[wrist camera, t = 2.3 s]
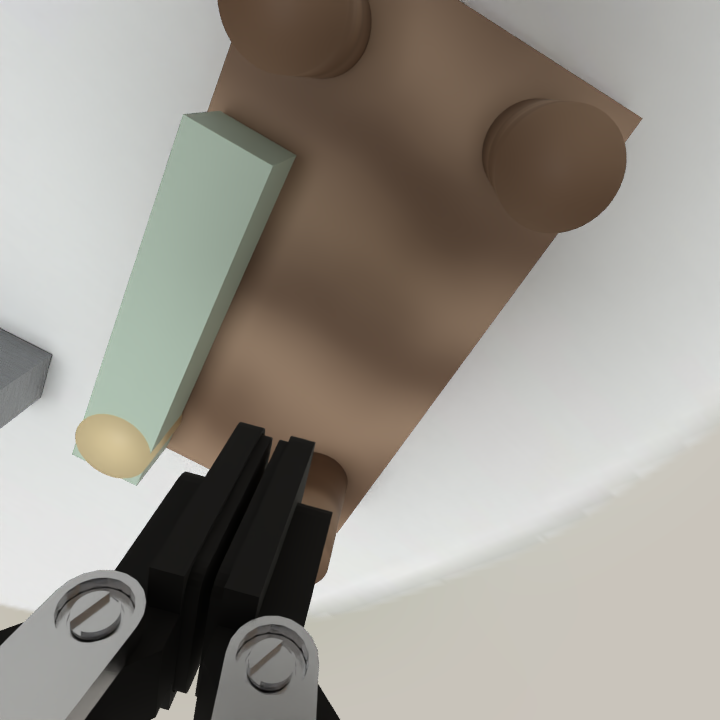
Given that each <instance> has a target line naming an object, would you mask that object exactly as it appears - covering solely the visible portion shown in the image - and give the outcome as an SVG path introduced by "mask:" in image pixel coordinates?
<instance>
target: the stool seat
mask: <svg viewBox="0 0 720 720" xmlns="http://www.w3.org/2000/svg"><path fill="white" fill-rule="evenodd" d="M218 7H219V12H220V16H221V20H222V23H223V26H224V28H225V31H226V33H227V35H228V37H229V38H230V40H231V45H230V48H229V51H228V53H227V56H226V59H225V62H224V65H223V68H222V71H221V74H220V77H219V79H218V82H217V85H216V88H215V91H214V94H213V97H212V100H211V102H210V105H209V108H208V111H207V112H213V111H221V112H223V113H225V114H226V115H228V116H230V117H232V118H233V119H235V120H237V121H238V122H240V123H242V124H244V125H245V126H247V127H249V128H250V129H252V130H254V131H256V132H257V133H259V134H261V135H262V136H264V137H266V138H268V139H269V140H271V141H273V142H274V143H276V144H278V145H280V146H281V147H283V148H285V149H286V150H288V151H290V152H292V153H293V154H295V155H296V157H295V160H294V162H293V164H292V166H291V169H290V171H289V173H288V175H287V178H286V180H285V182H284V184H283V187H282V189H281V191H280V193H279V196H278V198H277V200H276V202H275V205H274V207H273V209H272V211H271V214H270V216H269V218H268V221H267V223H266V225H265V227H264V230H263V232H262V234H261V236H260V239H259V241H258V243H257V245H256V248H255V250H254V252H253V254H252V257H251V259H250V261H249V263H248V266H247V268H246V270H245V272H244V275H243V277H242V279H241V281H240V284H239V286H238V288H237V290H236V293H235V295H234V297H233V299H232V302H231V304H230V306H229V308H228V311H227V313H226V315H225V317H224V320H223V322H222V324H221V327H220V329H219V331H218V333H217V336H216V338H215V340H214V342H213V345H212V347H211V349H210V351H209V354H208V356H207V358H206V360H205V363H204V365H203V367H202V369H201V372H200V374H199V376H198V378H197V381H196V383H195V385H194V387H193V390H192V392H191V394H190V396H189V399H188V401H187V403H186V405H185V408H184V410H183V412H182V420H181V423H180V425H179V426H178V428H177V429H176V430H175V431H174V433H173V435H172V437H171V439H170V442H169V444H168V446H167V447H166V448H168V449H170V450H172V451H174V452H176V453H178V454H180V455H182V456H184V457H186V458H188V459H190V460H192V461H194V462H196V463H198V464H200V465H202V466H204V467H206V468H208V469H210V468H211V467H212V465H213V463H214V462H215V460H216V459H217V457H218V455H219V454H220V452H221V450H222V449H223V447H224V446H225V444H226V442H227V441H228V439H229V438H230V436H231V434H232V433H233V431H234V430H235V428H236V426H237V425H238V423H239V422H244V423H247V424H251V425H255V426H258V427H262V428H265V436H269V437H272V438H273V441H272V446H271V451H270V456H269V461H270V459H271V457H272V454H273V452H274V450H275V448H276V446H277V444H278V442H279V440H284V441H287V442H288V441H289V439H290V437H291V436H295V437H298V438H302V439H306V440H309V441H313V442H316V443H315V448H314V453H313V457H312V461H311V465H310V469H309V473H308V477H307V482H306V486H305V490H304V494H303V498H302V502H301V503H302V504H305V505H309V506H313V507H316V508H320V509H324V510H327V511H331V512H333V514H332V518H331V522H330V526H329V530H328V534H327V538H326V542H325V546H324V550H323V553H322V557H321V561H320V565H319V569H318V573H317V577H316V581H315V583H317V582H319V581H320V580H321V579H322V578H323V577H324V576H325V574H326V573H327V570H328V566H329V562H330V557H331V553H332V549H333V545H334V540H335V536H336V532H338V531H339V530H340V528H341V527H342V526H343V524H344V523H345V522H346V520H347V519H348V517H349V516H350V515H351V513H352V512H353V511H354V509H355V508H356V507H357V505H358V504H359V503H360V501H361V500H362V498H363V497H364V496H365V494H366V493H367V492H368V490H369V489H370V488H371V486H372V485H373V484H374V482H375V481H376V479H377V478H378V477H379V475H380V474H381V473H382V471H383V470H384V469H385V467H386V466H387V465H388V463H389V462H390V460H391V459H392V458H393V456H394V455H395V454H396V452H397V451H398V450H399V448H400V447H401V446H402V444H403V443H404V441H405V440H406V439H407V437H408V436H409V435H410V433H411V432H412V431H413V429H414V428H415V427H416V425H417V424H418V422H419V421H420V420H421V418H422V417H423V416H424V414H425V413H426V412H427V410H428V409H429V408H430V406H431V405H432V403H433V402H434V401H435V399H436V398H437V397H438V395H439V394H440V393H441V391H442V390H443V389H444V387H445V386H446V384H447V383H448V382H449V380H450V379H451V378H452V376H453V375H454V374H455V372H456V371H457V370H458V368H459V367H460V365H461V364H462V363H463V361H464V360H465V359H466V357H467V356H468V355H469V353H470V352H471V351H472V349H473V348H474V346H475V345H476V344H477V342H478V341H479V340H480V338H481V337H482V336H483V334H484V333H485V332H486V330H487V329H488V327H489V326H490V325H491V323H492V322H493V321H494V319H495V318H496V317H497V315H498V314H499V313H500V311H501V310H502V308H503V307H504V306H505V304H506V303H507V302H508V300H509V299H510V298H511V296H512V295H513V294H514V292H515V291H516V289H517V288H518V287H519V285H520V284H521V283H522V281H523V280H524V279H525V277H526V276H527V275H528V273H529V272H530V271H531V269H532V268H533V266H534V265H535V264H536V262H537V261H538V260H539V258H540V257H541V256H542V254H543V253H544V252H545V250H546V249H547V247H548V246H549V245H550V243H551V242H552V241H553V239H554V238H555V237H556V235H557V234H558V233H561V232H566V231H570V230H573V229H576V228H578V227H581V226H583V225H585V224H586V223H588V222H590V221H592V220H593V219H594V218H596V217H597V216H598V215H599V214H600V213H601V212H602V211H604V210H605V209H606V207H607V206H608V205H609V204H610V203H611V201H612V200H613V198H614V197H615V195H616V194H617V192H618V190H619V188H620V186H621V183H622V180H623V177H624V173H625V169H626V148H625V142H626V140H627V139H628V138H629V136H630V135H631V133H632V132H633V131H634V129H635V128H636V127H637V125H638V124H639V123H640V121H641V120H642V119H643V118H641V117H639V116H638V115H636V114H635V113H633V112H632V111H630V110H629V109H627V108H625V107H624V106H622V105H621V104H619V103H618V102H616V101H615V100H613V99H611V98H610V97H608V96H607V95H605V94H604V93H602V92H601V91H599V90H597V89H596V88H594V87H593V86H591V85H590V84H588V83H587V82H585V81H583V80H582V79H580V78H579V77H577V76H576V75H574V74H573V73H571V72H569V71H568V70H566V69H565V68H563V67H562V66H560V65H559V64H557V63H555V62H554V61H552V60H551V59H549V58H548V57H546V56H545V55H543V54H541V53H540V52H538V51H537V50H535V49H534V48H532V47H531V46H529V45H527V44H526V43H524V42H523V41H521V40H520V39H518V38H517V37H515V36H513V35H512V34H510V33H509V32H507V31H506V30H504V29H503V28H501V27H499V26H498V25H496V24H495V23H493V22H492V21H490V20H489V19H487V18H485V17H484V16H482V15H481V14H479V13H478V12H476V11H475V10H473V9H471V8H470V7H468V6H467V5H465V4H464V3H462V2H461V1H459V0H218ZM268 463H269V462H268Z"/></svg>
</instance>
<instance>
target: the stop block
mask: <svg viewBox="0 0 720 720" xmlns="http://www.w3.org/2000/svg"><path fill="white" fill-rule="evenodd" d="M51 356H52V355H51V354H49V353H47V352H45V351H43V350H41V349H39V348H37V347H35V346H34V345H32V344H30V343H28V342H26V341H24V340H22V339H20V338H18V337H16V336H14V335H12V334H10V333H8V332H6V331H4V330H2V329H0V428H2V427H3V426H4V425H6V424H7V423H8V422H10V421H11V420H12V419H13V418H15V417H16V416H17V415H19V414H20V413H21V412H22V411H24V410H25V409H26V408H28V407H29V406H30V405H32V404H33V403H34V402H35V401H37V400H38V399H39V398H41V394H42V390H43V386H44V383H45V379H46V375H47V371H48V368H49V364H50V360H51Z"/></svg>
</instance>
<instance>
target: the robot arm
mask: <svg viewBox="0 0 720 720" xmlns="http://www.w3.org/2000/svg"><path fill="white" fill-rule="evenodd" d="M272 441H273V438H272V437H269V436H265V428H262V427H258V426H255V425H251V424H247V423H244V422H239V423H238V425H237V426H236V428H235V430H234V431H233V433H232V434H231V436H230V438H229V439H228V441H227V442H226V444H225V446H224V447H223V449H222V450H221V452H220V454H219V455H218V457H217V459H216V460H215V462H214V463H213V465H212V467H211V468H210V470H209V471H208V473H207V475H206V476H205V477H204V476H200V475H196V474H193V473H189V472H184V473H182V474H181V476H180V477H179V478H178V479H177V481H176V482H175V484H174V485H173V487H172V488H171V490H170V491H169V492H168V494H167V495H166V497H165V498H164V500H163V501H162V503H161V504H160V506H159V507H158V508H157V510H156V511H155V513H154V514H153V516H152V517H151V519H150V520H149V521H148V523H147V524H146V526H145V527H144V529H143V530H142V532H141V533H140V535H139V536H138V537H137V539H136V540H135V542H134V543H133V545H132V546H131V548H130V549H129V550H128V552H127V553H126V555H125V556H124V558H123V559H122V561H121V562H120V564H119V565H118V566H117V568H116V569H115V570H97V571H93V572H88V573H84V574H82V575H79V576H77V577H75V578H73V579H71V580H69V581H68V582H66V583H65V584H64V585H62V586H61V587H60V588H58V589H57V590H56V591H55V592H54V593H53V594H52V595H51V596H50V597H49V598H48V599H47V600H46V601H45V602H44V603H43V604H42V605H41V606H40V607H39V608H38V609H37V610H36V611H35V612H34V613H33V614H32V615H31V616H30V617H29V618H28V619H27V620H26V621H25V622H23V623H20V624H18V625H15V626H12V627H9V628H7V629H4V630H1V631H0V720H151V719H153V718H155V717H156V715H157V713H158V711H159V709H160V708H163V709H166V710H169V708H170V706H171V704H172V701H173V699H174V697H175V694H176V692H177V691H180V692H183V693H187V692H188V690H189V688H190V686H191V684H192V681H193V679H194V677H195V675H196V672H197V670H198V667H199V665H200V667H199V674H198V680H197V687H196V693H195V696H197V701H196V707H195V714H194V720H340V719H339V717H338V715H337V714H336V712H335V711H334V709H333V707H332V706H331V704H330V702H329V701H328V700H327V698H326V696H325V694H324V693H323V691H322V690H321V688H320V686H319V685H318V672H319V660H318V650H317V647H316V645H315V643H314V641H313V639H312V637H311V636H310V634H309V633H308V632H307V631H306V630H305V629H304V625H305V621H306V617H307V613H308V609H309V605H310V601H311V597H312V593H313V589H314V585H315V581H316V577H317V573H318V569H319V565H320V561H321V557H322V553H323V550H324V546H325V542H326V538H327V534H328V530H329V526H330V522H331V518H332V514H333V512H331V511H327V510H324V509H320V508H316V507H313V506H309V505H305V504H302V503H301V502H302V498H303V494H304V490H305V486H306V482H307V477H308V473H309V469H310V465H311V461H312V457H313V453H314V448H315V443H316V442H313V441H309V440H306V439H302V438H298V437H295V436H291V437H290V439H289V441H288V442H287V441H284V440H279V442H278V444H277V446H276V448H275V450H274V452H273V454H272V457H271V459H270V461H269V456H270V451H271V446H272ZM268 462H269V463H268Z"/></svg>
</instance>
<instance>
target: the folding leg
mask: <svg viewBox="0 0 720 720" xmlns="http://www.w3.org/2000/svg"><path fill="white" fill-rule="evenodd" d="M295 157H296V155H295V154H293V153H292V152H290V151H288V150H286V149H285V148H283V147H281V146H280V145H278V144H276V143H274V142H273V141H271V140H269V139H268V138H266V137H264V136H262V135H261V134H259V133H257V132H256V131H254V130H252V129H250V128H249V127H247V126H245V125H244V124H242V123H240V122H238V121H237V120H235V119H233V118H232V117H230V116H228V115H226V114H225V113H223V112H221V111H213V112H202V113H192V114H183V117H182V120H181V123H180V126H179V129H178V132H177V135H176V138H175V141H174V144H173V147H172V150H171V153H170V156H169V159H168V162H167V165H166V169H165V172H164V175H163V178H162V181H161V184H160V187H159V190H158V193H157V196H156V199H155V202H154V205H153V208H152V211H151V214H150V217H149V221H148V224H147V227H146V230H145V233H144V236H143V239H142V242H141V245H140V248H139V251H138V254H137V257H136V260H135V263H134V266H133V269H132V273H131V276H130V279H129V282H128V285H127V288H126V291H125V294H124V297H123V300H122V303H121V306H120V309H119V312H118V315H117V318H116V321H115V325H114V328H113V331H112V334H111V337H110V340H109V343H108V346H107V349H106V352H105V355H104V358H103V361H102V364H101V367H100V370H99V373H98V377H97V380H96V383H95V386H94V389H93V392H92V395H91V398H90V401H89V404H88V407H87V410H86V413H85V416H84V419H83V421H82V422H81V423H80V424H79V426H78V427H77V430H76V434H75V439H76V444H75V447H74V450H73V453H72V455H74V456H76V457H79V458H81V459H83V460H85V461H87V462H88V463H89V464H90V465H91V466H92V467H93V468H95V469H96V470H98V471H100V472H101V473H103V474H106V475H108V476H111V477H115V478H122V479H124V480H126V481H128V482H130V483H132V484H134V485H136V486H137V485H138V483H139V482H140V481H141V480H142V478H143V477H144V476H145V474H146V473H147V472H148V470H149V469H150V468H151V466H152V465H153V464H154V463H155V461H156V460H157V459H158V457H159V456H160V455H161V453H162V452H163V451H164V449H165V448H166V447H167V446H168V444H169V442H170V439H171V437H172V435H173V433H174V431H175V430H176V429H177V428H178V426H179V425H180V423H181V420H182V412H183V410H184V408H185V405H186V403H187V401H188V399H189V396H190V394H191V392H192V390H193V387H194V385H195V383H196V381H197V378H198V376H199V374H200V372H201V369H202V367H203V365H204V363H205V360H206V358H207V356H208V354H209V351H210V349H211V347H212V345H213V342H214V340H215V338H216V336H217V333H218V331H219V329H220V327H221V324H222V322H223V320H224V317H225V315H226V313H227V311H228V308H229V306H230V304H231V302H232V299H233V297H234V295H235V293H236V290H237V288H238V286H239V284H240V281H241V279H242V277H243V275H244V272H245V270H246V268H247V266H248V263H249V261H250V259H251V257H252V254H253V252H254V250H255V248H256V245H257V243H258V241H259V239H260V236H261V234H262V232H263V230H264V227H265V225H266V223H267V221H268V218H269V216H270V214H271V211H272V209H273V207H274V205H275V202H276V200H277V198H278V196H279V193H280V191H281V189H282V187H283V184H284V182H285V180H286V178H287V175H288V173H289V171H290V169H291V166H292V164H293V162H294V160H295Z"/></svg>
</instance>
